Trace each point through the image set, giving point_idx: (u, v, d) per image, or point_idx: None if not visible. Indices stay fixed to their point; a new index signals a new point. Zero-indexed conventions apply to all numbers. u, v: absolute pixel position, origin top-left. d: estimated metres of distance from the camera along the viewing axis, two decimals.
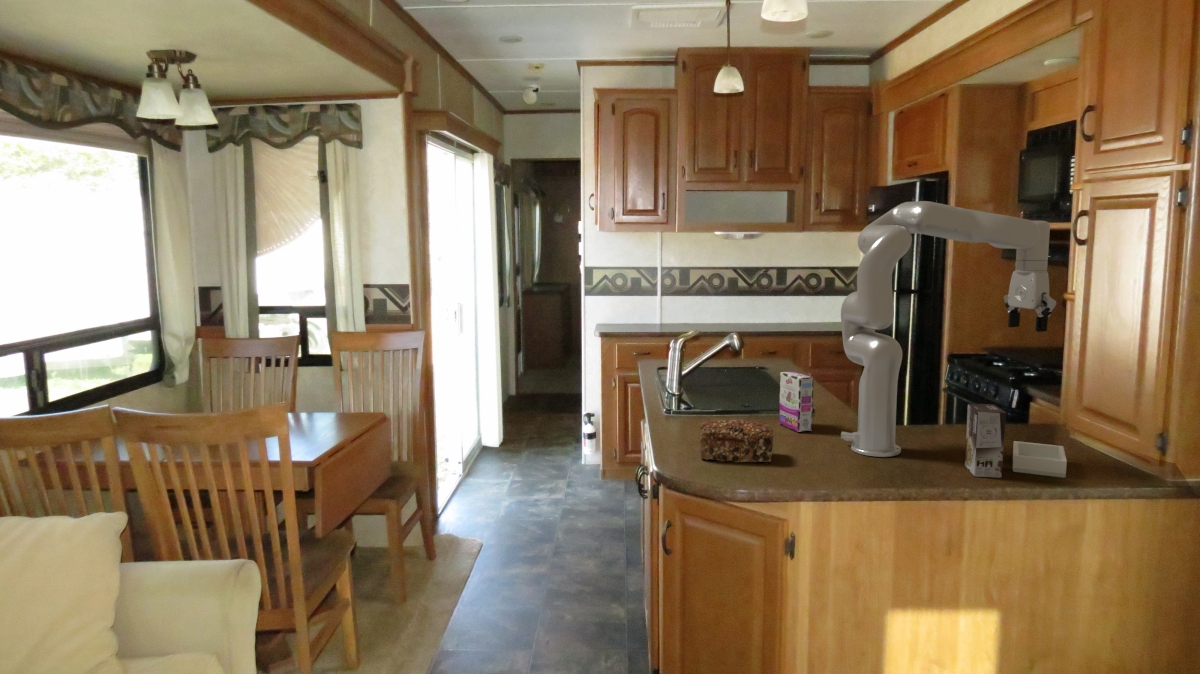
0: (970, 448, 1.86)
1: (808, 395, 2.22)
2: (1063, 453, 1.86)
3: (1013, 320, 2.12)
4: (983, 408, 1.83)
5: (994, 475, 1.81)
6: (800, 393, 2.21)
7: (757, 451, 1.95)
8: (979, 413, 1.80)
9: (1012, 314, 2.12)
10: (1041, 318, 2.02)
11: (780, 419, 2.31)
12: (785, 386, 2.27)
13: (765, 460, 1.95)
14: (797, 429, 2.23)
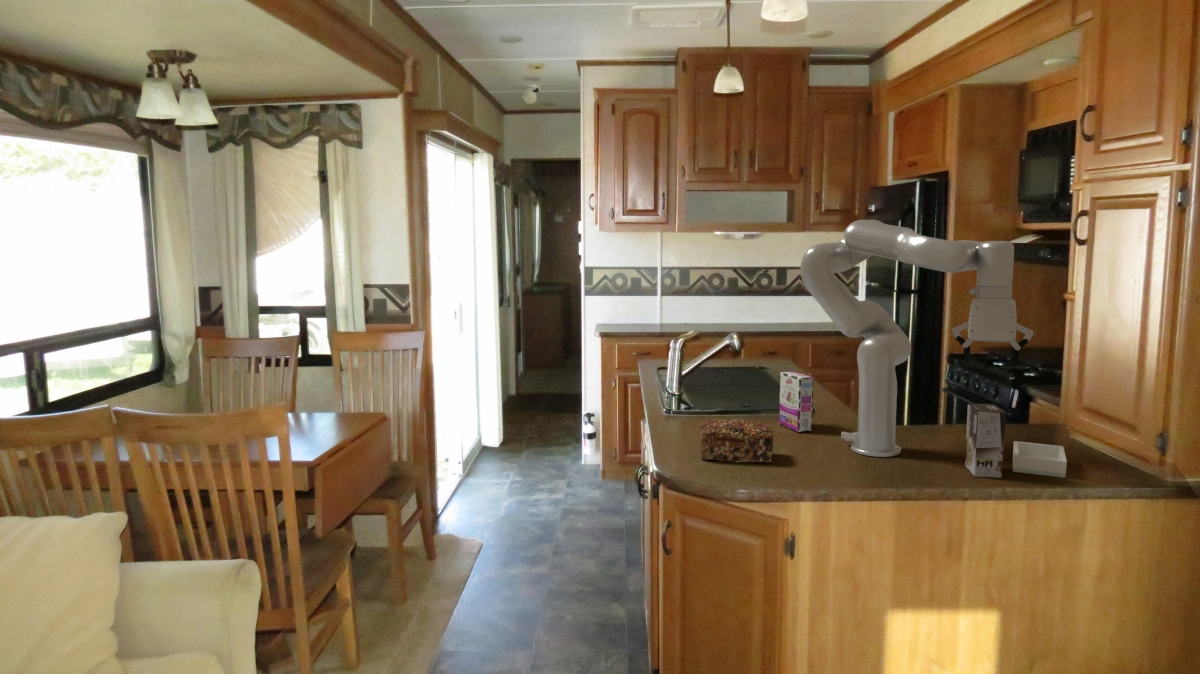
0: (970, 448, 1.86)
1: (808, 395, 2.22)
2: (1063, 453, 1.86)
3: (969, 356, 1.83)
4: (983, 408, 1.83)
5: (994, 475, 1.81)
6: (800, 393, 2.21)
7: (757, 451, 1.95)
8: (979, 413, 1.80)
9: (970, 349, 1.83)
10: (1017, 351, 1.78)
11: (780, 419, 2.31)
12: (785, 386, 2.27)
13: (765, 460, 1.95)
14: (797, 429, 2.23)
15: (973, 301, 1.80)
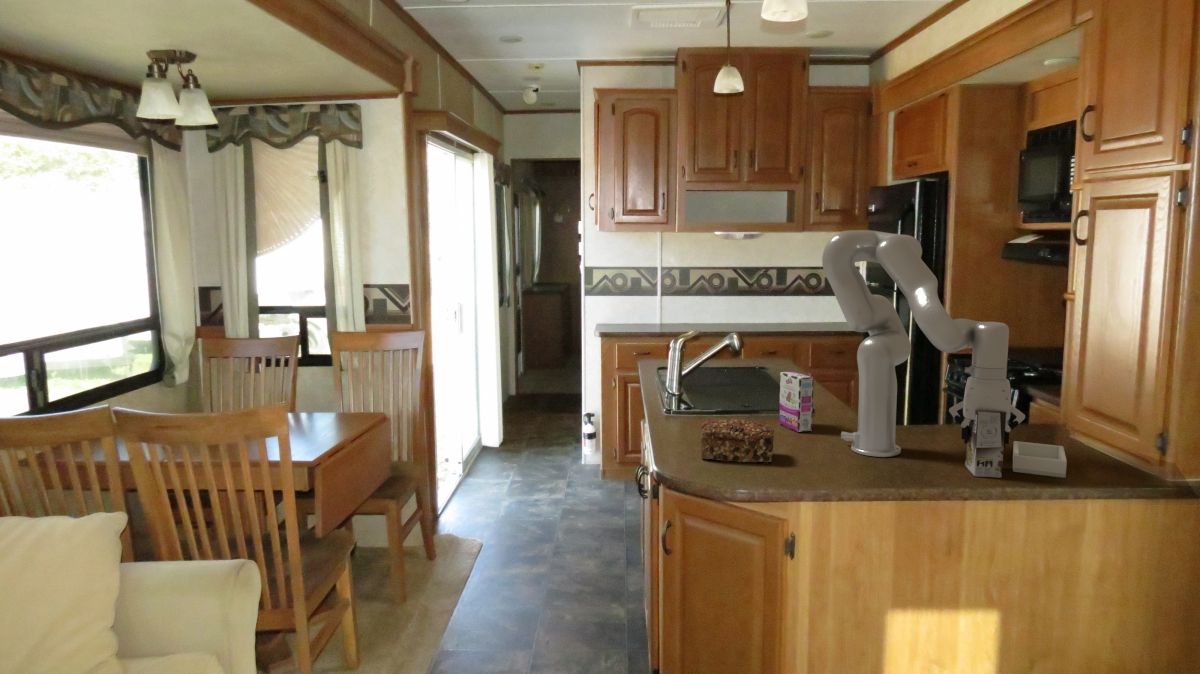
0: (970, 448, 1.86)
1: (808, 395, 2.22)
2: (1063, 453, 1.86)
3: (967, 435, 1.86)
4: None
5: (994, 475, 1.81)
6: (800, 393, 2.21)
7: (757, 451, 1.95)
8: (979, 413, 1.80)
9: (968, 429, 1.85)
10: (1007, 433, 1.82)
11: (780, 419, 2.31)
12: (785, 386, 2.27)
13: (765, 460, 1.95)
14: (797, 429, 2.23)
15: (968, 380, 1.83)
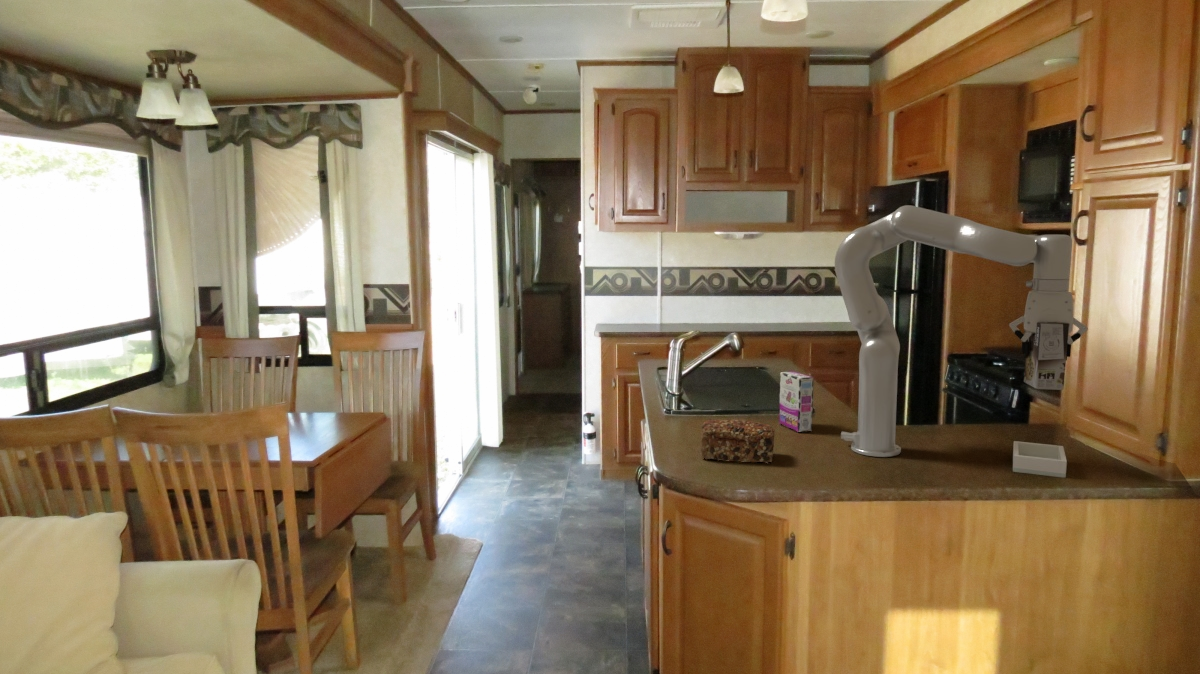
0: (1031, 362, 1.86)
1: (808, 395, 2.22)
2: (1063, 453, 1.86)
3: None
4: None
5: (1056, 387, 1.81)
6: (800, 393, 2.21)
7: (757, 451, 1.95)
8: (1042, 324, 1.80)
9: (1028, 343, 1.86)
10: (1069, 345, 1.82)
11: (780, 419, 2.31)
12: (785, 386, 2.27)
13: (766, 460, 1.95)
14: (797, 429, 2.23)
15: (1030, 293, 1.83)
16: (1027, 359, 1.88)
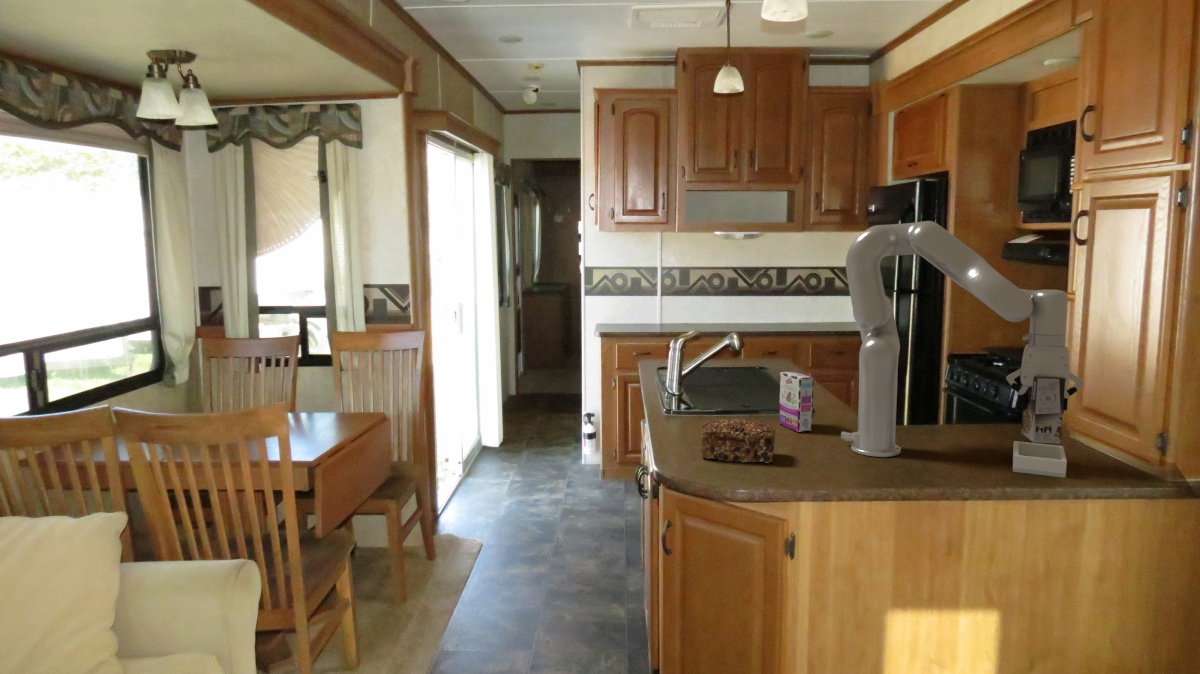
0: (1028, 415, 1.87)
1: (808, 395, 2.22)
2: (1063, 453, 1.86)
3: None
4: None
5: (1053, 441, 1.83)
6: (800, 393, 2.21)
7: (757, 451, 1.95)
8: (1038, 379, 1.82)
9: (1025, 396, 1.87)
10: (1066, 399, 1.84)
11: (780, 419, 2.31)
12: (785, 386, 2.27)
13: (766, 460, 1.95)
14: (797, 429, 2.23)
15: (1026, 348, 1.85)
16: (1024, 411, 1.90)
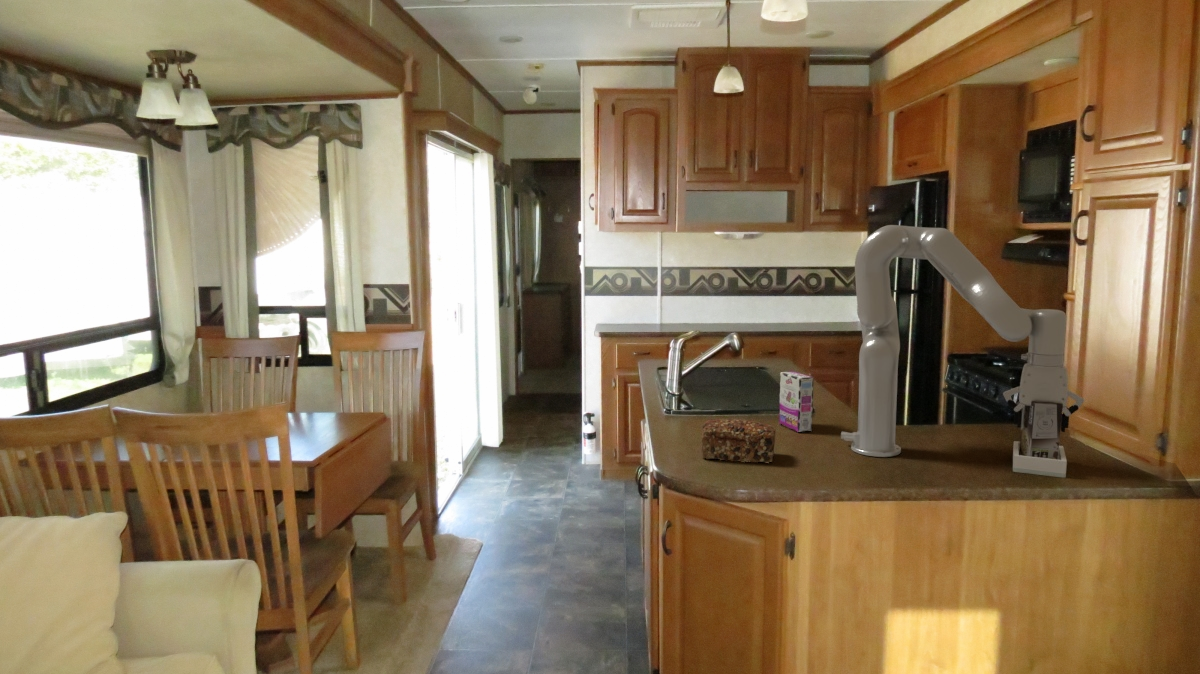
0: (1025, 439, 1.89)
1: (808, 395, 2.22)
2: (1063, 453, 1.86)
3: (1020, 419, 1.89)
4: None
5: None
6: (800, 393, 2.21)
7: (758, 451, 1.95)
8: (1036, 404, 1.83)
9: None
10: (1067, 417, 1.84)
11: (780, 419, 2.31)
12: (785, 386, 2.27)
13: (766, 460, 1.95)
14: (797, 429, 2.23)
15: (1025, 367, 1.86)
16: (1022, 435, 1.91)
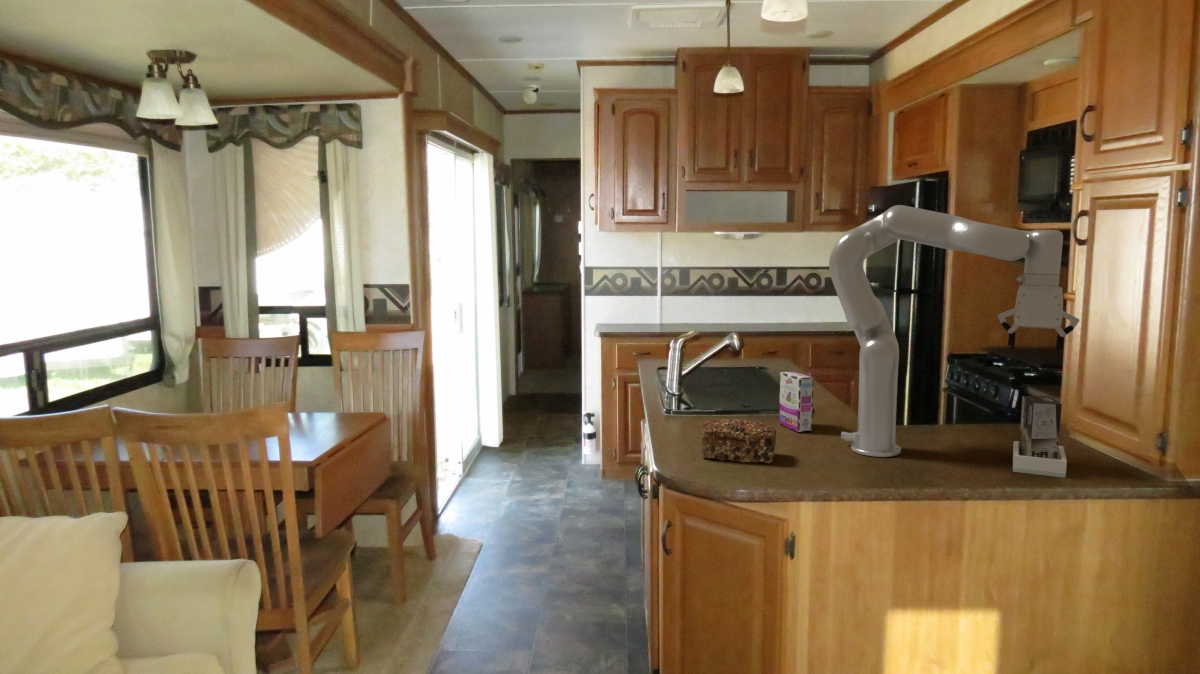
0: (1025, 439, 1.89)
1: (808, 395, 2.22)
2: (1063, 453, 1.86)
3: (1014, 341, 1.89)
4: (1038, 400, 1.86)
5: None
6: (800, 393, 2.21)
7: (758, 451, 1.95)
8: (1035, 404, 1.83)
9: None
10: (1062, 338, 1.83)
11: (780, 419, 2.31)
12: (785, 386, 2.27)
13: (766, 460, 1.95)
14: (797, 429, 2.23)
15: (1020, 288, 1.85)
16: (1022, 435, 1.91)
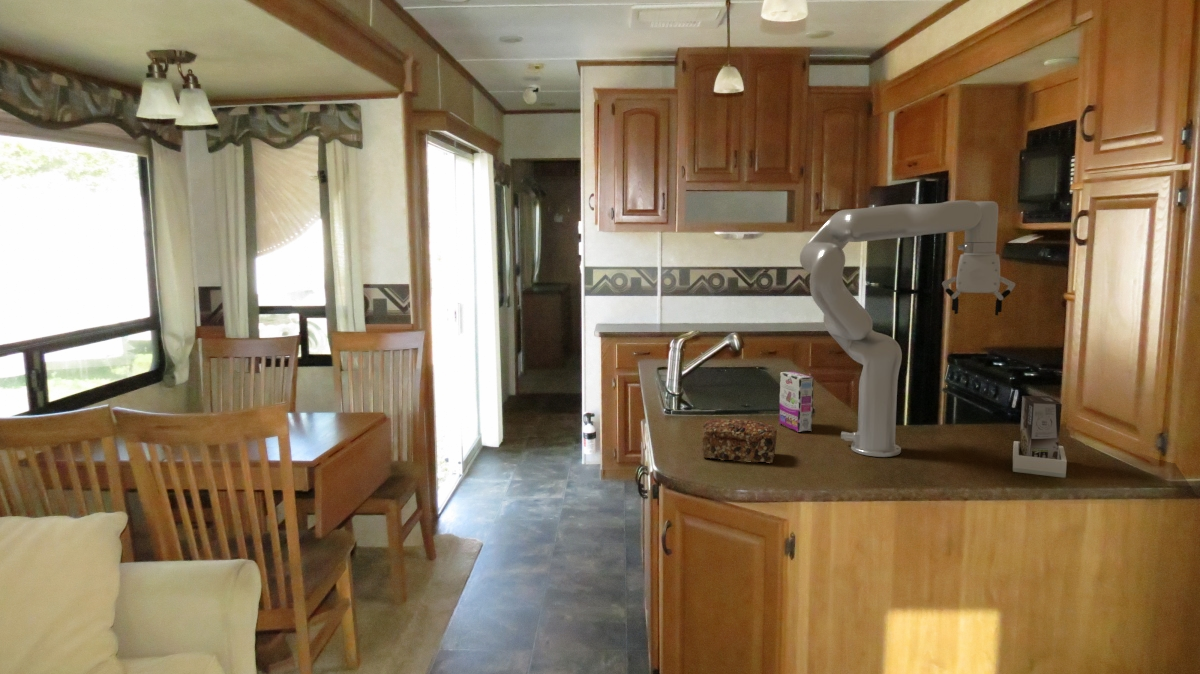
0: (1025, 439, 1.89)
1: (808, 395, 2.22)
2: (1063, 453, 1.86)
3: (957, 306, 2.02)
4: (1038, 400, 1.86)
5: None
6: (800, 393, 2.21)
7: (758, 451, 1.95)
8: (1035, 404, 1.83)
9: (958, 300, 2.02)
10: (1000, 301, 1.97)
11: (780, 419, 2.31)
12: (785, 386, 2.27)
13: (766, 460, 1.95)
14: (797, 429, 2.23)
15: (961, 256, 1.99)
16: (1022, 435, 1.91)
